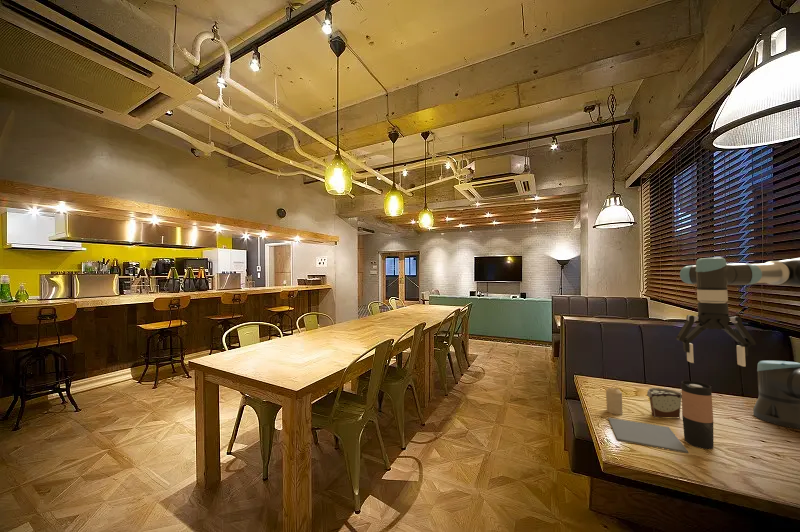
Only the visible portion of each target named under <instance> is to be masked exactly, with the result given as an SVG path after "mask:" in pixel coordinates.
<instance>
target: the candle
mask: <svg viewBox="0 0 800 532" xmlns="http://www.w3.org/2000/svg"><path fill="white" fill-rule="evenodd" d="M605 398H606V401H605V402H606V411H607V412H608V413H611V414H613V415H618V414H620V415H623V392H622V391H621V390H620V388H619V387H610V386H609V387H608V388H607V389H606V390H605Z"/></svg>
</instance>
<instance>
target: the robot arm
mask: <svg viewBox="0 0 800 532" xmlns="http://www.w3.org/2000/svg"><path fill="white" fill-rule="evenodd" d="M679 277H680V280H681V282H683V283H685V284H688V285H690V284H691V285H696V298H697V299H696V300H697V301H698V303H697V313H698V314H697V315H691V314H688V315H686V318H685V322H684V324H683V326H682V327H681V329H680V330H679V332H678V334H677V336H676V338H675V339H676V341H679V342H681V343H682V347H683V352H685V353H686V361H687V362H689V363H691V364H695V362H694V361H695V359H694V357H695V356H694V344H693V343H691V342H693V340H694V339H696V338H697V337H698V336H700V334H702V332H704V331H705V330H707V329H708V330H720V331H721V330H723V331H724V332H725V333H726V334H728V335H729V337H731V338H732V339H733V340H734V341H735V342H737V344H736V361H737V362H736V363H737V365H738V366H740V367H746V365H747V364H746V363H747V362H746V357H749V348H750V347H751V346H756V345H757V343H756V341H755V339H754V338H753V337H752V335H751V334H750V333H749V330H747V328H746V326H745V325H744V324H743V320H742V317H740V316H736V315H734V316H733V315H732V316H729V304H728V303H727V302H729V295H728V286H729V285H730V286H737V285H738V286H748V285H755V284H757V283H758V284H760V283H761V284H763V283H764V284H768V285H773V286H790V287H791V286H792V287H800V257H796V258H791V259H790V258H789V259H782V260H770V261H766V262H764V263H746V262H743V263H742V262H741V263H727V260H726V258H725V257H703V258H702V257H701V258H698V259H697V260H696V262H695V264H692V265H686V266H684V267H682V268H681V269H680V272H679ZM696 321H698V322H699V323H698V324H697V325H696V326H695V328H693V329H692V330H691V328H692V327H693V325H694V323H695V322H696ZM730 322H731V323H732V324H733V326H735V328H736V329H737V332H739V334H740V335H739V334H738V333H737V332H736V331H734V329H733V328H732V327H731V326H729V323H730ZM690 330H691V331H690ZM738 344H739V345H738ZM756 373H757V387H758V398H757V400H756V401H755V404H754V406H753V408H752V409H753V411H752V413H753V416H755V417H756V418H758V419H759V420H762V421H764V422H767V423H771V424H774V425H777V426H782V427H786V428H792V429H796V430H797V429H798V430H800V362H795V361H789V360H788V361H786V360H770V359H769V360H759V361H758V363H757V369H756Z"/></svg>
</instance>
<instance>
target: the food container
mask: <svg viewBox="0 0 800 532" xmlns="http://www.w3.org/2000/svg"><path fill="white" fill-rule="evenodd" d="M646 395H647V397H648V399H649V403H650V410H651V415H653V416H654V417H653V418H655V417H679V418H678V419H681V418H680V417H681V408H682V392H680V391H676V390H672V389H667V388H662V387H661V388H660V387H651V388H648V390H647V392H646Z"/></svg>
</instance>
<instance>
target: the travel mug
mask: <svg viewBox="0 0 800 532" xmlns="http://www.w3.org/2000/svg"><path fill="white" fill-rule="evenodd" d="M680 384H681V386H680V387H681V395H682V398H681V413H682V414H681V415H682V416H681V417H682V425H683V427H682V428H683V429H682V430H683V437H684V438H683V439H684V441H686V442H685V443H687V444H688V445H691V446H693V447H695V448H698V449H702V448H703V449H702V450H713V449H714V412H713V411H714V410H713V396H712V395H713V394H712V393H713V392H712V386H711V385H709V384H707V383H704V382H700V381H699V382H698V381H693V380H681V383H680Z"/></svg>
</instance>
